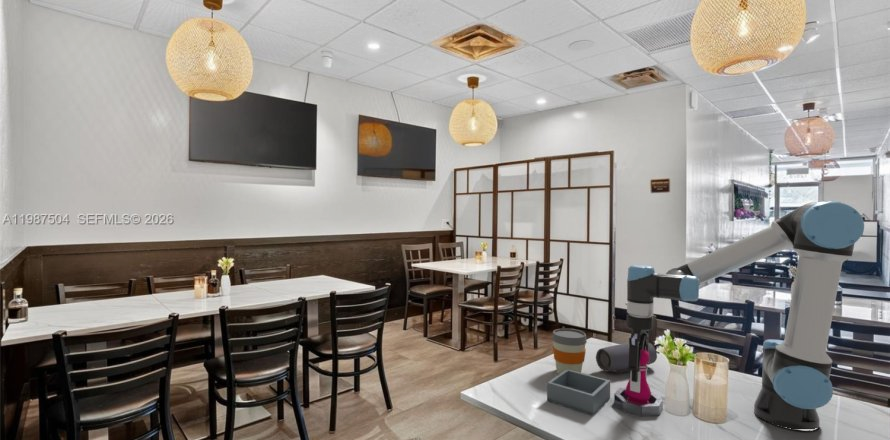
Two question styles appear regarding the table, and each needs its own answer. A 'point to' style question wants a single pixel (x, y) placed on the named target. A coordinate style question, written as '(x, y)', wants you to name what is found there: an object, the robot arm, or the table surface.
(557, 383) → the bin
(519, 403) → the table surface
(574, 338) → the reusable coffee cup
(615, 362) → the bluetooth speaker
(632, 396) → the pepper mill
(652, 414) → the collar
